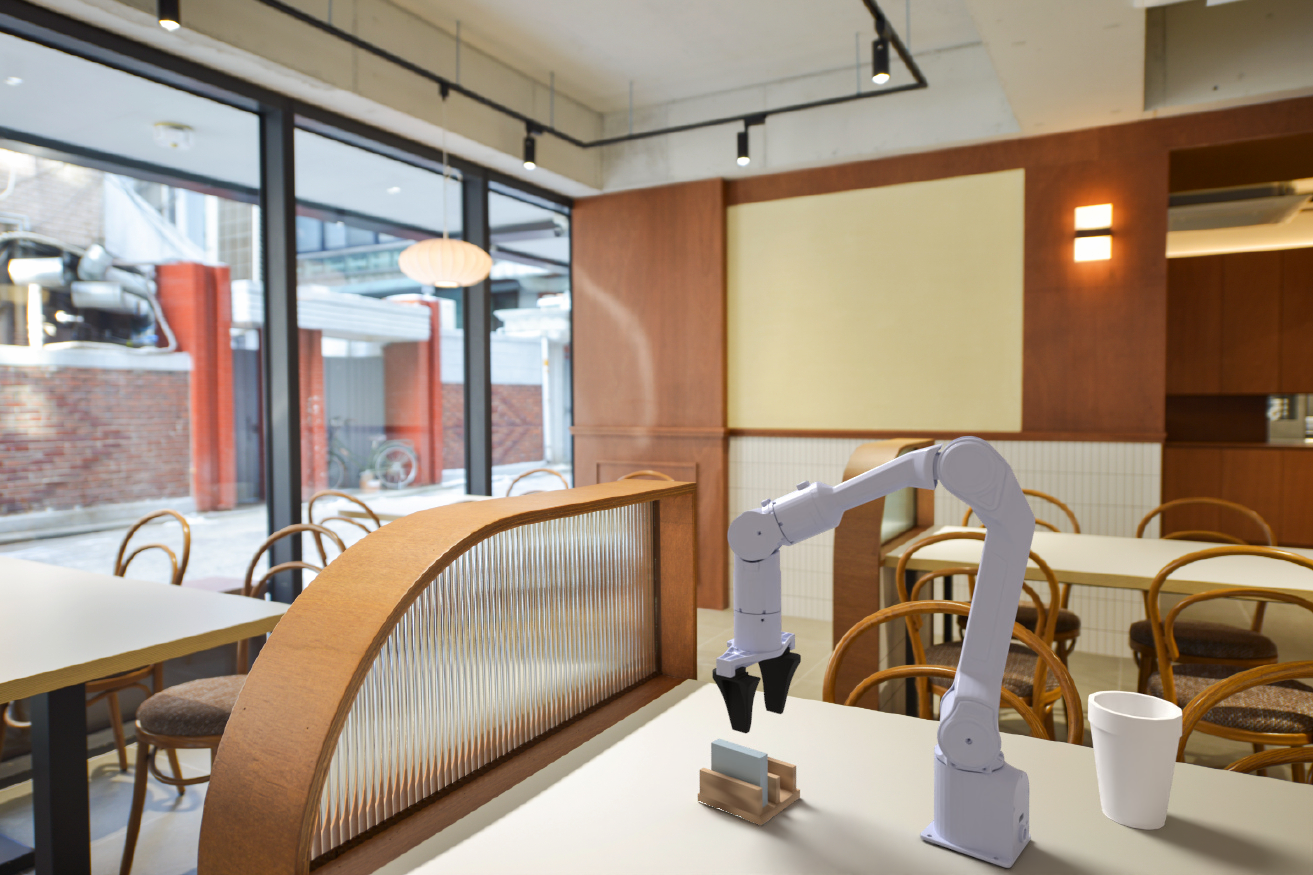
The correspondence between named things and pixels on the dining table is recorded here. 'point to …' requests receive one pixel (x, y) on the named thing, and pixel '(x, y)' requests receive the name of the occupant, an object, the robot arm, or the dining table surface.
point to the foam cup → (1134, 755)
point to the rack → (750, 792)
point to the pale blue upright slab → (741, 764)
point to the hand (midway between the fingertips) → (758, 720)
